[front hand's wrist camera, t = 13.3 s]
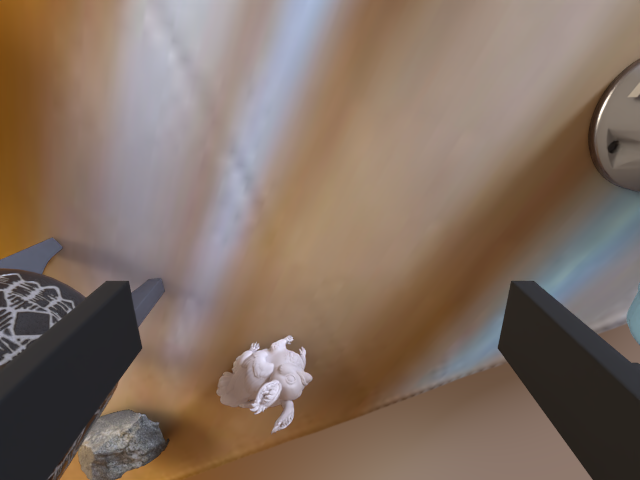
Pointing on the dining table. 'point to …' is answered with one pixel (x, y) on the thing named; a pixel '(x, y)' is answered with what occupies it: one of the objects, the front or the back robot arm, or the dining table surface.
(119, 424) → the rock
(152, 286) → the planter
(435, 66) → the dining table surface
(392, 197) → the dining table surface
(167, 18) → the dining table surface
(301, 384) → the figurine
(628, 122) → the front robot arm
